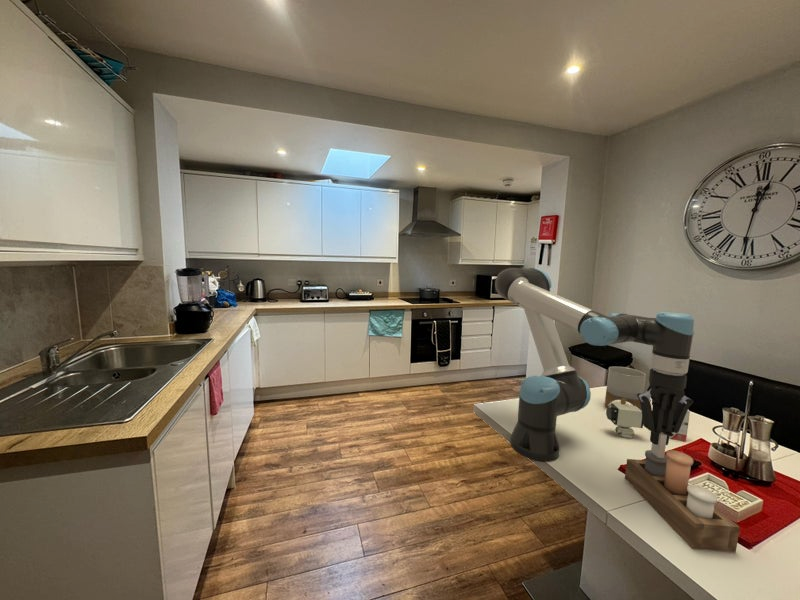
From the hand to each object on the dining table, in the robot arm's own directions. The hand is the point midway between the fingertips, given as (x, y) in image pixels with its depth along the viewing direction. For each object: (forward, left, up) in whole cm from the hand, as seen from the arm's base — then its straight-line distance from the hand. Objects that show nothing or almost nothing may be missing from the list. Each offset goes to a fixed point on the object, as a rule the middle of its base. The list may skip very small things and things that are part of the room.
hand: (657, 455), depth 86 cm
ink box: (+28, +32, -11) cm, 44 cm away
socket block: (0, -7, -11) cm, 13 cm away
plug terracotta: (0, -7, -5) cm, 9 cm away
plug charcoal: (0, 0, -10) cm, 10 cm away
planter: (+23, +52, -11) cm, 58 cm away
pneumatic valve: (+11, +30, -11) cm, 34 cm away
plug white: (0, -14, -10) cm, 17 cm away
